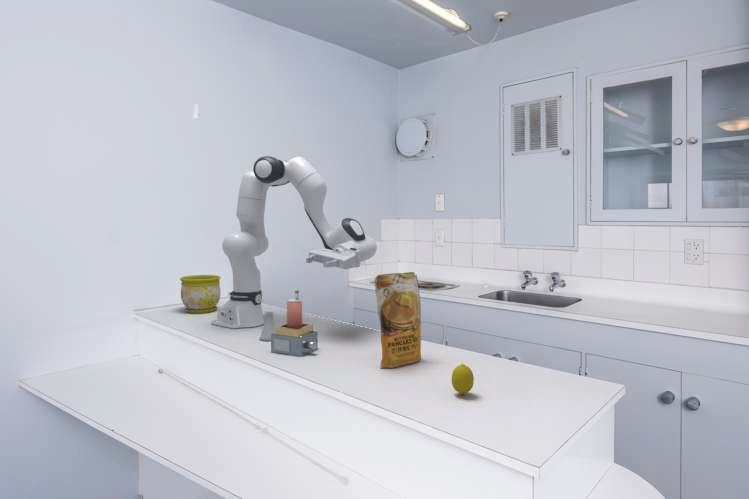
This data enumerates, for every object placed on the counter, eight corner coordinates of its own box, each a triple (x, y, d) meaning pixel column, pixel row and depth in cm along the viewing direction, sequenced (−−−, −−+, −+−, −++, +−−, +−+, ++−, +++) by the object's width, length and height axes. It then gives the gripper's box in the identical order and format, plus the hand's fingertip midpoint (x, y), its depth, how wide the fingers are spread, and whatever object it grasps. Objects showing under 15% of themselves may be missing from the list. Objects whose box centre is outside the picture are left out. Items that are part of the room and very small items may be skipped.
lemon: (477, 394, 120) (478, 363, 119) (466, 400, 116) (466, 368, 115) (458, 389, 123) (459, 359, 123) (447, 395, 119) (447, 364, 119)
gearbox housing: (270, 352, 156) (270, 327, 156) (288, 344, 166) (288, 321, 165) (309, 358, 150) (309, 331, 150) (325, 349, 160) (325, 325, 159)
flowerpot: (228, 308, 231) (228, 275, 230) (204, 316, 213) (204, 280, 212) (197, 306, 236) (197, 274, 235) (172, 313, 219) (171, 278, 218)
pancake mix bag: (367, 365, 143) (368, 274, 141) (415, 355, 154) (416, 270, 152) (381, 371, 137) (382, 276, 135) (429, 360, 149) (430, 272, 147)
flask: (274, 342, 169) (274, 314, 169) (255, 340, 171) (255, 313, 170) (282, 337, 176) (282, 310, 176) (264, 336, 178) (264, 310, 177)
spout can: (284, 333, 157) (283, 291, 156) (292, 330, 162) (292, 289, 161) (296, 335, 155) (296, 292, 154) (305, 332, 160) (304, 290, 159)
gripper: (324, 243, 184) (296, 249, 174) (362, 251, 170) (334, 258, 160) (325, 258, 185) (297, 266, 175) (363, 267, 172) (335, 276, 162)
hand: (315, 262), depth 168 cm, fingers open, 8 cm apart
